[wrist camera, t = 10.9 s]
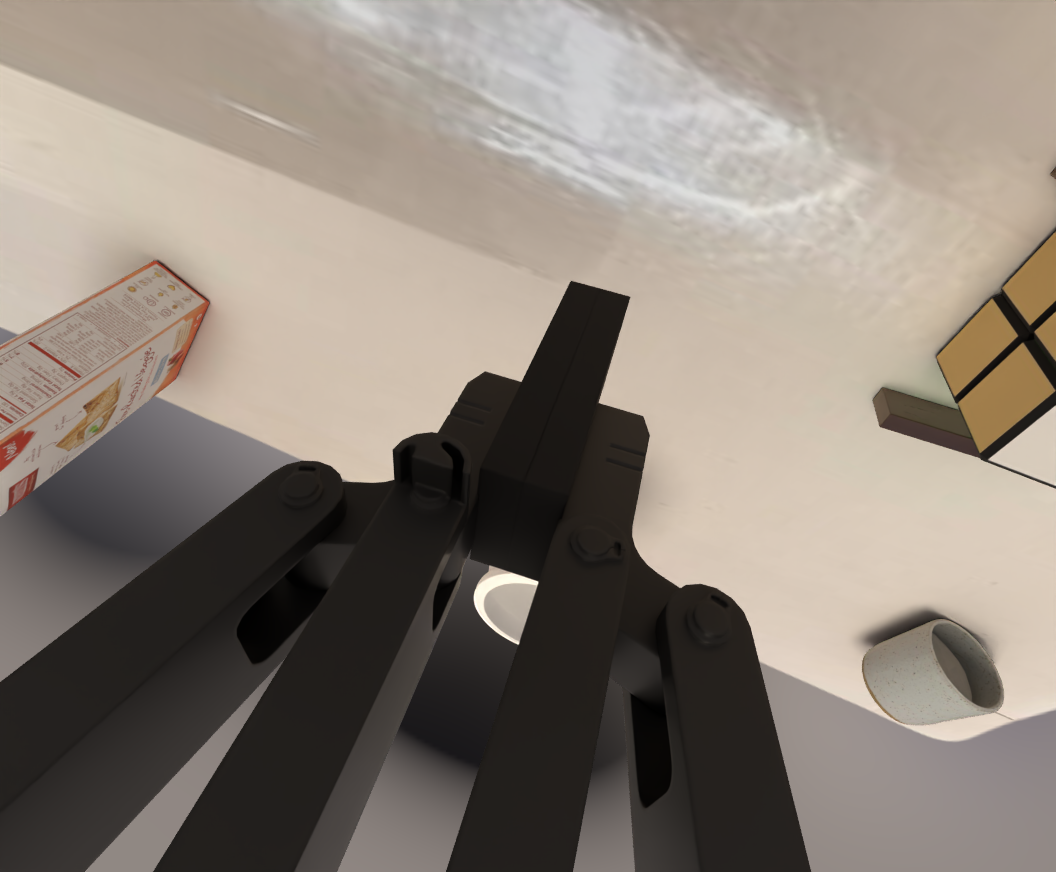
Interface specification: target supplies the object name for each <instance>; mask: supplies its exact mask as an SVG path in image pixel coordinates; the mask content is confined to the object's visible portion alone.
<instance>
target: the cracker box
mask: <svg viewBox="0 0 1056 872" xmlns="http://www.w3.org/2000/svg"><path fill="white" fill-rule="evenodd" d="M208 305H209V302H208V301H207V300H206V299H204V298H203V297H202V296H200V295H199V294H198V293H196V292H195V291H194V290H193V289H191V288H190V287H189V286H188V285H186V284H185V283H184V282H182V281H181V280H180V279H179V278H177V277H176V276H175V275H174V274H172V273H171V272H170V271H169V270H167V269H166V268H165V267H163V266H162V265H161V264H160V263H158V262H157V261H153V262H151V263H149V264H148V265H146V266H144V267H142V268H140V269H139V270H137V271H135V272H133V273H132V274H130V275H128V276H126V277H124V278H122V279H120V280H118V281H117V282H115V283H113V284H111V285H109V286H107V287H106V288H104V289H102V290H100V291H98V292H97V293H95V294H93V295H91V296H89V297H88V298H86V299H84V300H82V301H80V302H78V303H77V304H75V305H73V306H71V307H69V308H67V309H66V310H64V311H62V312H60V313H58V314H56V315H54V316H53V317H51V318H49V319H47V320H45V321H43V322H42V323H40V324H38V325H36V326H34V327H32V328H31V329H29V330H27V331H25V332H23V333H22V334H20V335H18V336H16V337H14V338H13V339H11V340H9V341H7V342H5V343H3V344H1V345H0V516H1V515H3V514H4V513H5V512H6V511H8V510H9V509H10V508H12V507H13V506H14V505H15V504H16V503H18V502H19V501H21V500H22V499H23V498H24V497H26V496H27V495H28V494H29V493H31V492H32V491H33V490H35V489H36V488H37V487H38V486H40V485H41V484H42V483H43V482H45V481H46V480H47V479H48V478H50V477H51V476H52V475H53V474H55V473H56V472H57V471H59V470H60V469H61V468H62V467H64V466H65V465H66V464H68V463H69V462H70V461H71V460H72V459H74V458H75V457H77V456H78V455H79V454H81V453H82V452H83V451H84V450H86V449H87V448H88V447H90V446H91V445H92V444H93V443H95V442H96V441H97V440H99V439H100V438H101V437H102V436H104V435H105V434H106V433H107V432H109V431H110V430H111V429H113V428H114V427H115V426H116V425H118V424H119V423H120V422H122V421H123V420H124V419H125V418H126V417H128V416H129V415H130V414H132V413H133V412H134V411H135V410H137V409H138V408H140V407H141V406H142V405H143V404H145V403H146V402H147V401H148V400H150V399H151V398H152V397H154V396H155V395H156V394H158V393H159V392H160V391H161V390H163V389H164V388H165V387H167V386H168V385H169V384H170V383H172V382H173V381H174V380H175V379H176V376H177V374H178V372H179V370H180V368H181V365H182V363H183V360H184V358H185V356H186V354H187V352H188V349H189V347H190V345H191V343H192V341H193V338H194V336H195V334H196V331H197V329H198V327H199V325H200V323H201V321H202V318H203V316H204V314H205V312H206V309H207V307H208Z"/></svg>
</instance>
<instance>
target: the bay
mask: <svg viewBox="0 0 1056 872" xmlns="http://www.w3.org/2000/svg"><path fill="white" fill-rule="evenodd" d="M1051 176H1052V177H1054V178H1055V179H1056V168H1055V169H1054V171H1053V172H1052V173H1051ZM873 404H874V407H875V411H876V415H877V419H878V422H879V426H880V427H882V428H885V429H888V430H891V431H895V432H898V433H901V434H904V435H907V436H911V437H914V438H917V439H920V440H923V441H927V442H930V443H933V444H936V445H940V446H943V447H946V448H949V449H952V450H956V451H959V452H962V453H965V454H968V455H972V456H975V457H978V458H980V456H979V454H978V452H977V450H976V447H975V445H974V443H973V440H972V438H971V436H970V434H969V431H968V429H967V427H966V424H965V422H964V420H963V418H962V415H961V413H960V411H958V410H955V409H952V408H948V407H945V406H942V405H939V404H935V403H932V402H929V401H925V400H922V399H919V398H916V397H912V396H909V395H906V394H902V393H899V392H896V391H893V390H889V389H886V388H882V389H881V390H880V392H879V393H878V394H877V395H876V397H875V398H874V399H873Z"/></svg>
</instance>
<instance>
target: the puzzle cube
mask: <svg viewBox="0 0 1056 872" xmlns="http://www.w3.org/2000/svg"><path fill="white" fill-rule="evenodd" d="M936 358H937V363H938V365H939V367H940V369H941V372H942V374H943V376H944V378H945V380H946V383H947V385H948V387H949V389H950V391H951V394H952V396H953V398H954V400H955V402H956V403H957V404H958V407H959V411H960V413H961V415H962V418H963V420H964V422H965V424H966V427H967V429H968V431H969V434H970V436H971V438H972V440H973V443H974V445H975V447H976V450H977V452H978V454H979V456H980V459H981V460H983V461H985V462H988V463H990V464H993V465H996V466H998V467H1001V468H1003V469H1006V470H1009V471H1011V472H1014V473H1016V474H1019V475H1022V476H1024V477H1027V478H1029V479H1032V480H1035V481H1037V482H1040V483H1042V484H1045V485H1048V486H1050V487H1053V488H1055V489H1056V232H1055V233H1054V234H1053V235H1052V236H1051V237H1050V238H1049V239H1048V240H1047V241H1046V242H1045V243H1044V244H1043V245H1042V246H1041V247H1040V248H1039V250H1038V251H1037V252H1036V253H1035V254H1034V255H1033V256H1032V257H1031V258H1030V259H1029V260H1028V261H1027V262H1026V263H1025V264H1024V265H1023V266H1022V267H1021V268H1020V270H1019V271H1018V272H1017V273H1016V274H1015V275H1014V276H1013V277H1012V278H1011V279H1010V280H1009V281H1008V282H1007V283H1006V284H1005V285H1004V286H1003V287H1002V295H1001V296H998V297H994V298H992V299H991V300H990V301H989V302H988V303H987V304H986V305H985V306H984V307H983V308H982V309H981V310H980V311H979V312H978V314H977V315H976V316H975V317H974V318H973V319H972V320H971V321H970V322H969V323H968V324H967V325H966V326H965V327H964V328H963V329H962V330H961V331H960V332H959V334H958V335H957V336H956V337H955V338H954V339H953V340H952V341H951V342H950V343H949V344H948V345H947V346H946V347H945V348H944V349H943V350H942V351H941V353H940V354H939V355H938V356H937V357H936Z"/></svg>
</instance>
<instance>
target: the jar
mask: <svg viewBox="0 0 1056 872" xmlns="http://www.w3.org/2000/svg"><path fill="white" fill-rule="evenodd" d="M537 585H538V581H535V580H532V579H529V578H526V577H523V576H520V575H517V574H514V573H511V572H508V571H505V570H502V569H499V568H496V567H493V566H490V565H489V572H488V573H486V574H485V575H484V576H483V577H482V578H481V580H480V581H479V583H478V585H477V587H476V590H475V593H474V602H475V606H476V609H477V611H478V613H479V614H480V616H481V617H482V619H483V620H484V621H485V622H486V623H487V624H488V625H489V626H490V627H491V628H492V629H494V630H495V631H496V632H497V633H499V634H500V635H502V636H503V637H505V638H507V639H508V640H510V641H512V642H514V643H516V644H518V645H519V641H520V638H521V635H522V632H523V629H524V626H525V623H526V620H527V616H528V613H529V610H530V607H531V604H532V601H533V598H534V594H535V591H536V588H537Z"/></svg>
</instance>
